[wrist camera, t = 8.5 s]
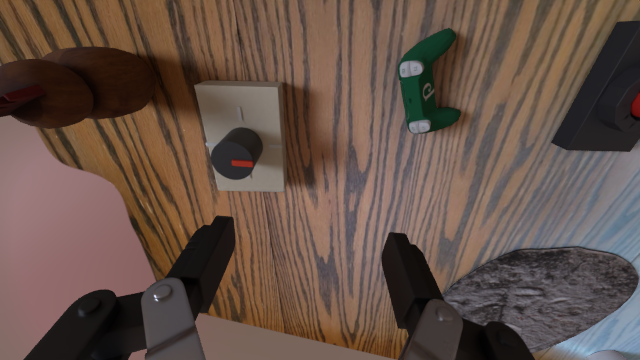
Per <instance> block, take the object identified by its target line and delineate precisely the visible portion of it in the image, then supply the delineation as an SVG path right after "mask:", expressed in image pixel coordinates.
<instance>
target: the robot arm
mask: <svg viewBox="0 0 640 360" xmlns="http://www.w3.org/2000/svg"><path fill="white" fill-rule="evenodd" d="M234 247H235V229H234V219H233V217H228V216H216V217H215V219H214V220H213V222H212V224H211V225H203V226H202V227H201V228H200V229H198V230H197V231H196V232H195V233H194V234H193V236H192V237H191V239H190V241H189V242H188V244H187V245H186V247H185V249H184V250H183V251H182V253H181V254H180V256H179V257H178V259H177V260H176V262H175V264H174V265H173V267H172V268H171V270H170V271H169V273H168V274H167V276H166V277H165V278H164V279H162V280H159V281H157V282H155V283H154V284H152V285H151V286H150V287H149V288H148V289H147V290H146V291H144V292H140V293H135V294H131V295H125V296H120V297H116V295H115V293H114V292H112V291H110V290H97V291H93V292H91V293H88V294H86V295H84V296H82V297H81V298H79V299H78V300H76V301H75V302H74V303H73V304H72V305H71V306H70V307H69V308H68V309H67V310H66V311H65V312H64V314H63V315H62V316H61V317H60V318H59V319H58V321H57V322H56V323H55V324H54V325H53V326H52V328H51V329H50V330H49V331H48V332H47V333H46V334H45V336H44V337H43V338H42V339H41V340H40V341H39V343H38V344H37V345H36V346H35V347H34V348H33V349H32V351H31V352H30V353H29V354H28V355H27V356H26V358H25V359H24V360H128V358H129V357H130V355H131V353H132V352H136V351H139V350H143V349H147V353H146V354H145V360H206V359H205V355H204V352H203V348H202V345H201V342H200V338H199V335H198V331H197V328H196V325H195V320H196V318H197V316H198V314H199V313H208V311H209V308H210V306H211V303H212V301H213V299H214V296H215V294H216V291H217V289H218V287H219V284H220V282H221V280H222V277H223V275H224V272H225V270H226V268H227V265H228V263H229V260H230V258H231V256H232V253H233V251H234ZM382 267H383V271H384V275H385V279H386V282H387V286H388V290H389V294H390V298H391V302H392V306H393V310H394V314H395V318H396V322H397V326H398V328H400V329H407V332H408V335H409V336H408V338H407V340H406V342H405V344H404V347H403V349H402V351H401V354H400V356H399V358H398V360H535V359H534V357H533V355H532V354H531V352H530V350H529V349H528V347H527V345H526V344H525V342H524V341H523V339H522V338H521V337H520V335H519V334H518V333H517V332H516V331H514V330H513V329H512V328H511V327H509V326H508V325H506V324H504V323H501V322H498V321H490V322H488V323H487V324H486V325H485V326H482V325H480V324H477V323H475V322H472V321H469V320H467V319H464V318H462V317H461V316H460V314H459V313H458V311H457V310H456V309H455V308H454V307H453V306H452V305H450V304H449V303H447V302H445V301H444V299H443V297H442V294H441V292H440V290H439V288H438V286H437V283H436V281H435V279H434V277H433V275H432V272H431V271H430V268H429V266H428V264H427V261H426V259H425V257H424V255H423V253H422V252H421V251H420V249H419V248H418V247H417V246H416V245H413V244H410V242H409V240H408V238H407V235H406V234H404V233H394V232H390V233H389V235H388V237H387V240H386V243H385V246H384V249H383V252H382Z"/></svg>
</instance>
